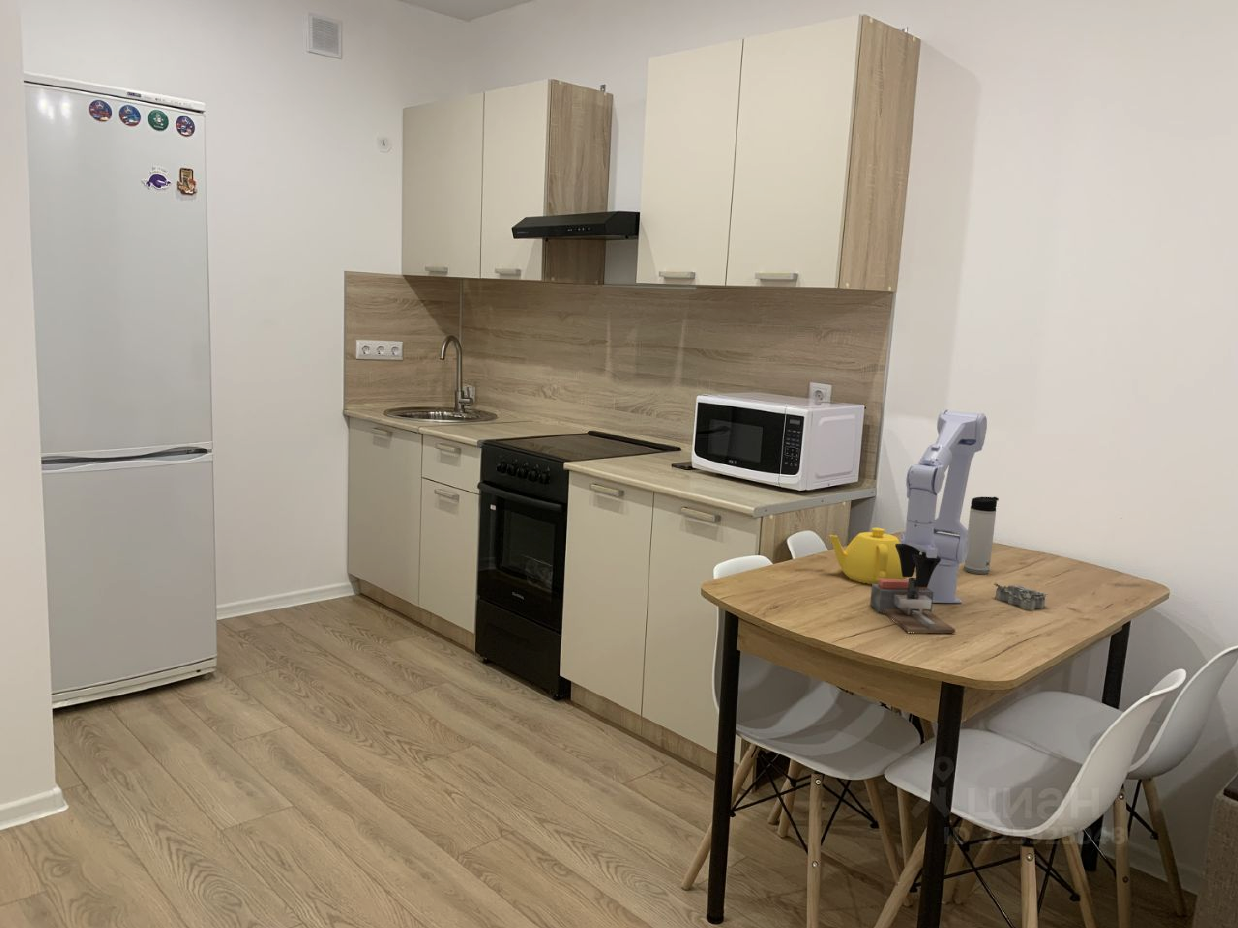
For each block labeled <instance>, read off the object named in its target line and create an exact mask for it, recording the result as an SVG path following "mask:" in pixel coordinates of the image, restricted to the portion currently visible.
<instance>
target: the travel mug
mask: <svg viewBox="0 0 1238 928" xmlns="http://www.w3.org/2000/svg"><path fill="white" fill-rule="evenodd" d="M999 500H1000V499H999V497H998V496H976V497H972V498H971V505H970V511H969V512H970V513H969V521H968V527H967V528H968V529H967V530H968V532H969V535H970V537H969V551H968V555H967V558H966V560H965V561H964V566H963V570H964V571H965V572H967V573H969V574H975V575H987V574H989V573H990V567H991V559H992V551H993V541H994V532H995V526H996V515H997V504H998V501H999Z"/></svg>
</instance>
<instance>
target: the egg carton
mask: <svg viewBox="0 0 1238 928" xmlns="http://www.w3.org/2000/svg"><path fill="white" fill-rule="evenodd" d="M993 586H995V587H996V591H995V598H996V601H1001V602H1007V604H1008V605H1011V606H1018V607H1020V609H1022V610H1029V611H1035V608H1036V609H1045V603H1046V597H1047V596H1048V595H1049V593H1044V592H1040V591H1037V590H1036V589H1034V590H1033V589H1030V588H1026V587H1025V586H1024V585H1022V584H1015V585H1008V586H1005V585H1004V586H1002V585H1001V584H999V583H997V582H994V585H993Z"/></svg>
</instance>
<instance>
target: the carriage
mask: <svg viewBox="0 0 1238 928" xmlns="http://www.w3.org/2000/svg"><path fill="white" fill-rule="evenodd" d="M908 579H909V582H908V592H907V595H894V601H893V604H895V605H896V606H897V607H899V608H901V610H902V611H904V612H905V613H906V614H910V613H911V609H916V610H918V611H919V612H920V613H922V609H931V602H932V600H931V599H930V598H928V597H927V596H925V595H919V589H920V587H917V585H916V577H908Z"/></svg>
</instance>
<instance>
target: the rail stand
mask: <svg viewBox="0 0 1238 928" xmlns="http://www.w3.org/2000/svg"><path fill="white" fill-rule="evenodd" d="M907 592H908V589H893V588H881V587H880V586H879V585H878V584H872V585H871V593H870V603H869V606H870V605H871V606H870V607H872V608H873V607H874V608H875V609H876V610H877V611H876V610H875V609H874V608H873V609H874V610H875V611H876V612H878V613H879V612H880V613H881V614H884V613H885V614H886V615H885V614H884V615H885V616H886V617H888V618H889V619H890V618H891V619H893V620H894V621H895V622H897V623H898V624H899V625H900V626H901V627H903V628H904V629H905V630H906V631H907V632H910V633H911V632H912V633H913V632H914V633H955V634H956V629H955V628H953V627H952V625H949V623H947V622H945V621H944V620H943V619H941V618H940V617H939V616H937V615H936V614H934V613H933V612H932V610H933V604H934V603H933V593H934V592H933V591H931V590H930V589H929V588H927V587H926V588H925V589H919V595H925V596H927V597H928V598H930V599H931V600H932V602H931V609H922V613H920V612H919V611H918V610H916V609H911V613H910V614H906V613H905V612H904V611H902V610H901V608H899V607H897V606H896V605H895V604H893V601H894V595H907ZM882 612H884V613H882ZM880 613H879V614H880ZM891 619H890V620H891ZM893 620H892V621H893ZM894 621H893V622H894ZM895 622H894V623H895ZM899 625H898V626H899ZM900 626H899V627H900ZM901 627H900V628H901ZM905 630H904V631H905ZM906 631H905V632H906ZM907 632H906V633H907Z"/></svg>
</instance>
